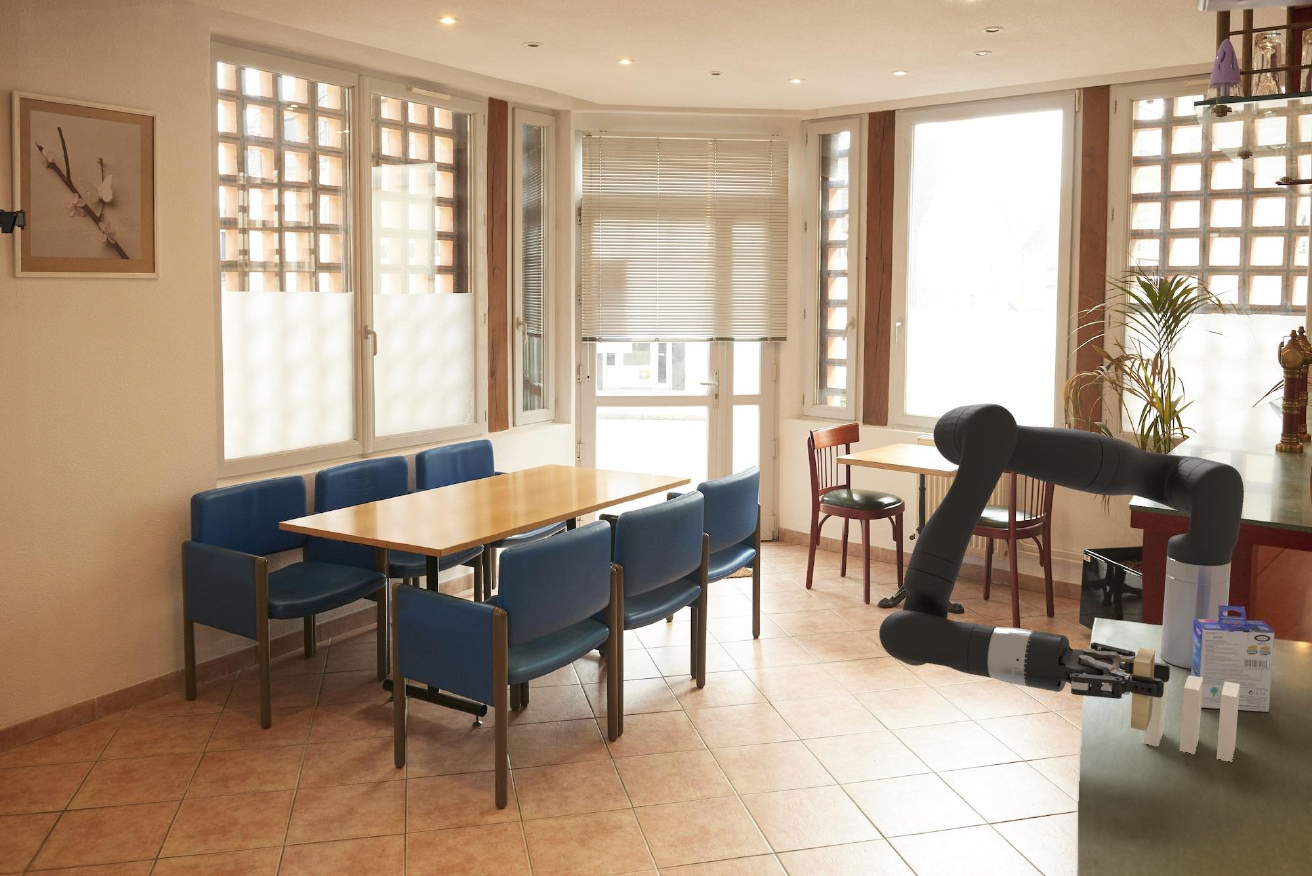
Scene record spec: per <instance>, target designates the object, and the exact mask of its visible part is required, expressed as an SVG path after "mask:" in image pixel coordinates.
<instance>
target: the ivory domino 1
mask: <svg viewBox="0 0 1312 876" xmlns="http://www.w3.org/2000/svg"><path fill="white" fill-rule="evenodd" d="M1167 683H1168V682H1164V694H1163V696H1162V697H1161V698H1158V697H1153V703H1152V717H1151V719H1150V722H1149V725H1148V727H1147V730H1146V731H1144V736H1143V744H1144V745H1146V744H1149V745H1148V746H1151V745H1152V747H1156V746H1160V743H1161V741H1162V738H1163V735H1164V727H1165V714H1166V702H1167V701H1166V699H1167V686H1168V684H1167ZM1160 740H1161V741H1160Z"/></svg>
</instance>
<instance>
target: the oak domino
mask: <svg viewBox="0 0 1312 876" xmlns="http://www.w3.org/2000/svg"><path fill="white" fill-rule="evenodd" d="M1135 657H1136V658H1135V660H1134V669H1133V675H1137V676H1143V677H1151V678H1154V664H1155V663H1156V662H1155V661H1156V650H1154V649H1148V648H1142V647H1140V648H1139V649H1138V652H1137V654H1136V655H1135ZM1152 703H1153V697H1152V696H1146V695H1141V694H1135V693H1131V710H1130V711H1131V712H1130V713H1131V715H1130V729H1135V730H1139V731H1140V730H1141V731H1144V732H1145V731H1146V730H1147V727H1148V725H1149V722H1150V719H1151V717H1152Z"/></svg>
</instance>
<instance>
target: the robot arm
mask: <svg viewBox="0 0 1312 876" xmlns="http://www.w3.org/2000/svg"><path fill="white" fill-rule="evenodd" d="M932 437H933V441H934V445H935V447H936V449H937V451H938V453H940V455H941V456H942V457H943V458H944V459H945V460H946V461H948V462H949V463H951V464H953V465H955V466H958V469H957V471H956V474H955V476H954V480H953V481H952V484H951V485H950V487H949V489H948V491H947V493H946V495H945V496H944V498H943V499H942V501H941V502H940V504H939V505H938V507H937V508H936V509H935V511H934V512H933V513H932V515H931V516H930V517H929V519H928V521H926V523H925V524H924V527H923V528H922V530H921V532H920V533H919V536H918V538H917V540H916V542H915V545H914V548H913V550H912V552H911V557H910V560H909V562H908V566H907V569H906V570H905V574H904V579H903V588H904V590H905V599H904V603H903V608H902V610H898V611H894V612H891V614H889V615H888V616H887V617H885V618H884V620H883V621H882V623H881V624H880V627H879V631H878V632H879V633H878V634H879V635H878V636H879V642H880V645H881V646H882V648H883V649H884V650H885V652H886V653H887V654H888V655H889V656H891V657H892V658H894V659H896V660H898V661H900V662H902V663H904V664H907V665H910V666H915V667H917V666H923V665H926V664H930V665H936V666H943V667H946V668H947V667H948V668H951V669H952V670H955V671H958V672H960V673H964V674H968V675H972V676H973V675H974V676H979V677H984V678H991V679H994V680H997V681H1000V682H1004V683H1008V684H1013V685H1017V686H1018V685H1019V686H1024V687H1028V688H1033V689H1034V688H1035V689H1041V690H1045V691H1051V692H1057V693H1058V692H1062V691H1063V690H1064V688H1065V686H1066V685H1067V684H1066V683H1068V684H1070V693H1071V694H1072V695H1074V696H1085V697H1095V698H1104V699H1116V700H1121V699H1122V698H1123V695H1126V696H1127V695H1130V693H1131V694H1132V693H1135V694H1141V695H1146V696H1152V697H1158V698H1161V697H1162V696H1163V694H1164V682H1167V683H1168V682H1169V680H1170V677H1171V676H1170V675H1171V667H1170V665H1169V664H1171V665H1174V666H1177V667H1180V668H1186V669H1192V649H1193V623H1194V619H1211V620H1219V618H1218V615H1219V613H1218V605H1223V606H1229V595H1230V594H1229V593H1230V581H1231V579H1230V578H1231V565H1232V555H1233V552H1234V549H1235V548H1236V545H1237V543H1238V540H1239V536H1240V529H1241V523H1242V516H1243V515H1242V514H1243V506H1244V500H1245V498H1244V497H1245V494H1244V493H1245V488H1244V482H1243V481H1244V480H1243V479H1242V478H1243V477H1242V475H1241V474H1240V472H1239V471H1238V469H1236V468H1235V467H1234V466H1232V465H1230V464H1226V463H1225V462H1219V461H1215V460H1211V459H1207V458H1202V457H1199V456H1198V457H1197V456H1187V455H1176V454H1175V455H1174V454H1166V453H1157V452H1151V451H1146V450H1144V449H1141V448H1138V447H1136V446H1135V445H1133V444H1131V443H1129V442H1126V441H1124V440H1121V439H1118V438H1115V437H1112V436H1109V435H1105V434H1101V433H1097V432H1093V431H1088V430H1083V429H1075V428H1065V427H1054V426H1053V427H1051V426H1028V425H1027V426H1026V425H1020V424H1017V420H1016V418H1015V417H1014V415H1013V414H1012V412H1010V411H1009V409H1007V408H1006V407H1004V406H1003V405H999V404H998V403H979V404H971V405H962V406H958V407H955V408H953V409H950V410H949V411H947V412H946V413H944V414H942V416H941V417H940V418H939V419H938V420H937V421H936V424H935V426H934V429H933V436H932ZM1004 471H1006V472H1011V473H1014V474H1015V473H1016V474H1019V475H1022V476H1026V477H1027V478H1028V477H1029V478H1031V479H1035V480H1038V481H1042V482H1045V483H1048V484H1052V485H1056V486H1059V487H1062V488H1063V487H1064V488H1067V489H1070V490H1074V491H1079V492H1083V493H1088V494H1093V495H1098V496H1099V495H1101V496H1112V497H1113V496H1125V495H1126V496H1136V497H1139V498H1142V499H1146V500H1149V501H1152V502H1154V503H1155V502H1156V503H1158V504H1160V505H1163V506H1166V507H1168V508H1170V509H1172V510H1175V511H1177V512H1180V513H1182V514H1183V513H1184V514H1187V515H1189V516H1190V519H1189V525H1188V530H1187V532H1186V533H1182V534H1176V535H1174V536H1171V537H1170V538H1169V539H1168V541H1167V549H1166V550H1167V551H1166V567H1165V581H1164V582H1165V583H1164V597H1163V599H1164V601H1163V612H1162V613H1163V615H1162V629H1161V630H1162V631H1161V644H1160V645H1161V646H1160V657H1161V660H1164V661H1165V662H1166V663H1169V664H1166V663H1162V662H1161V663H1160V662H1155V664H1154V678H1151V677H1143V676H1137V675H1133V669H1134V660H1135V658H1136V652H1135V651H1133V650H1129V649H1124V648H1119V647H1117V646H1116V647H1115V646H1111V645H1107V644H1103V643H1099V642H1090V644H1089V646H1090V647H1089V648H1083V649H1082V648H1081V649H1077V648H1075V649H1074V648H1072V647H1071V646H1070V641H1069V638H1068V636H1066V635H1063V634H1058V633H1052V632H1045V631H1038V630H1031V629H1025V628H1018V627H1011V626H1010V627H1008V626H1006V627H1003V626H1002V627H1001V626H995V625H987V624H982V623H981V624H980V623H975V622H974V623H973V622H965V621H964V622H963V621H956V620H952V619H949V618H948V615H949V605H950V600H951V599H950V598H951V597H952V596H951V595H952V594H953V590H954V589H955V585H956V582H957V579H958V577H959V573H960V570H961V567H962V565H963V564H962V563H963V561H964V559H965V556H966V554H967V553H966V552H967V550H968V546H969V544H970V542H971V539H972V536H973V534H974V531H975V530H976V527H977V525H978V522H980V521H979V520H980V518H981V517H982V514H983V513H984V510H985V509H986V507H987V504H988V503H989V501H990V498H991V496H992V494H993V493H994V490H995V488H996V487H997V485H998V482H999V481H1000V479H1001V477H1002V475H1003V473H1004ZM1223 615H1224V616H1228V611H1226V612H1223Z"/></svg>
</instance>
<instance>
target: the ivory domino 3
mask: <svg viewBox="0 0 1312 876" xmlns="http://www.w3.org/2000/svg"><path fill="white" fill-rule="evenodd" d="M1239 690H1240V684H1237V683H1231V682H1226V681H1225V682H1224V686H1223V690H1222V694H1221V705H1220V709H1219V722H1218V733H1217V735H1218V737H1217V748H1216V760H1218V759H1221V760H1220V761H1224V762H1228V761H1230V762H1229V763H1233V760H1232V759H1234V755H1233V754H1235V749H1236V743H1237V741H1236V740H1237V725H1238V717H1239V716H1238V714H1239V712H1238V711H1239V710H1238V703H1239Z"/></svg>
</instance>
